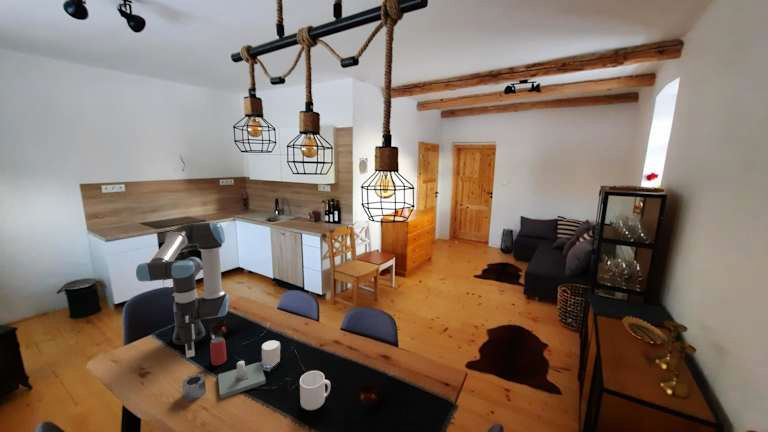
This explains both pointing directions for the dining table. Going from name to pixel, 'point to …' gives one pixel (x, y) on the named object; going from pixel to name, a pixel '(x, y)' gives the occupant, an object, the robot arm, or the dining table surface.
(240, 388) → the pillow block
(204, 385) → the ring
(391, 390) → the dining table surface
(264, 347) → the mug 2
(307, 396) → the mug
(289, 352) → the dining table surface
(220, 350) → the beer can
